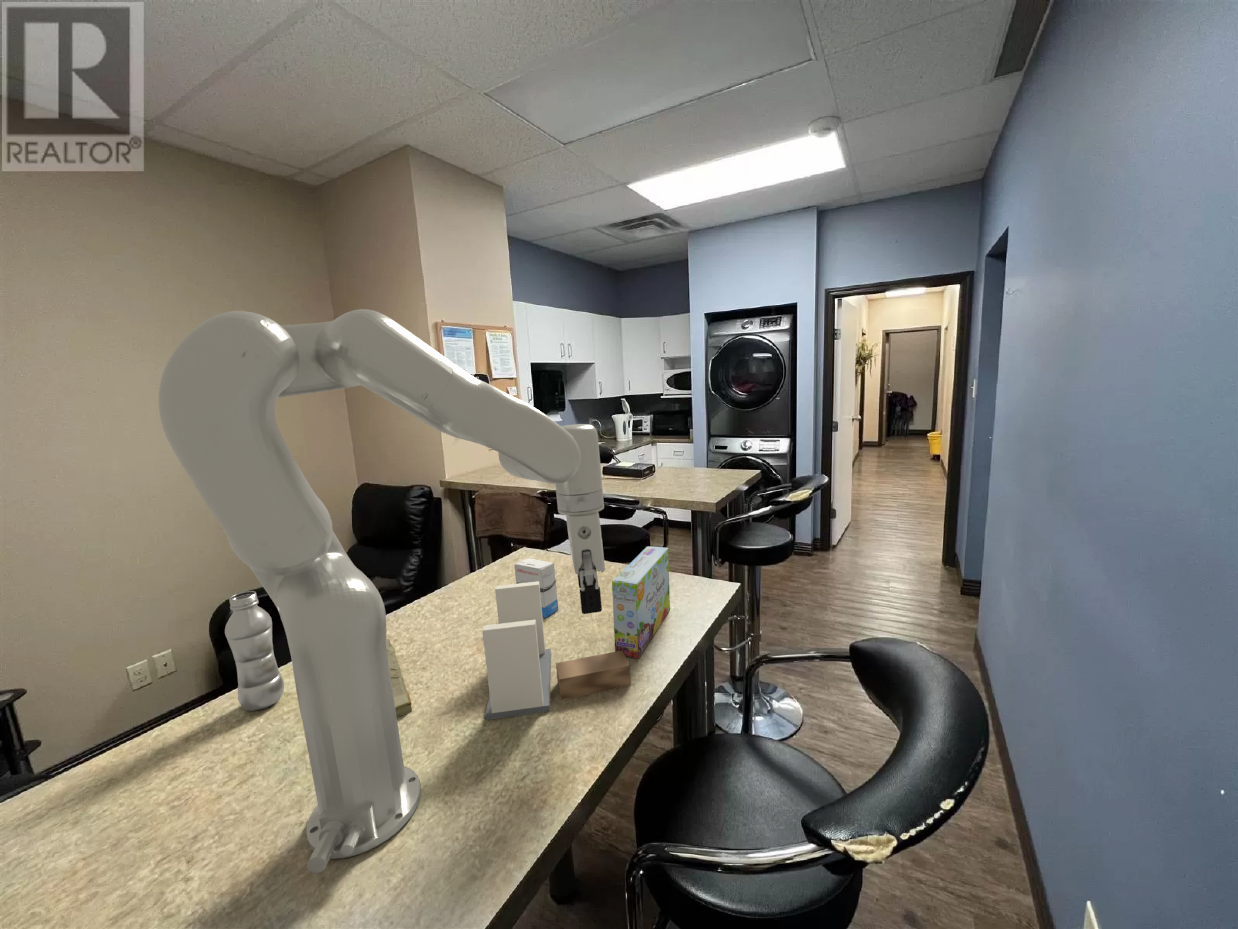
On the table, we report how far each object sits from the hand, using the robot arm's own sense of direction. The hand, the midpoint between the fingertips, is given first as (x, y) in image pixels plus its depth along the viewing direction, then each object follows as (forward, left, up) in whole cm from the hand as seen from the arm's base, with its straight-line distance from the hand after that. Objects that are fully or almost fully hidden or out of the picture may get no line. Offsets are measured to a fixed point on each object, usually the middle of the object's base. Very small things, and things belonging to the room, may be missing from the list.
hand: (589, 598), depth 81 cm
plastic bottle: (+7, +57, -16) cm, 60 cm away
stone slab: (+10, +42, -16) cm, 46 cm away
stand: (+3, +13, -16) cm, 20 cm away
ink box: (+31, +11, -16) cm, 36 cm away
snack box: (+16, -12, -16) cm, 25 cm away
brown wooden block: (0, 0, -16) cm, 16 cm away
